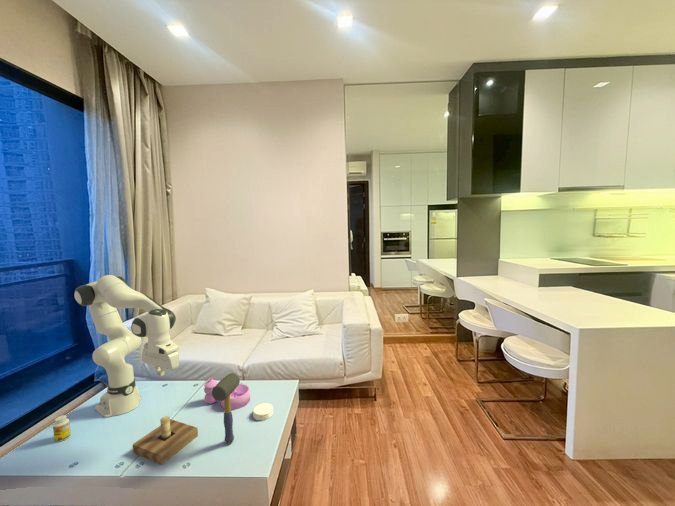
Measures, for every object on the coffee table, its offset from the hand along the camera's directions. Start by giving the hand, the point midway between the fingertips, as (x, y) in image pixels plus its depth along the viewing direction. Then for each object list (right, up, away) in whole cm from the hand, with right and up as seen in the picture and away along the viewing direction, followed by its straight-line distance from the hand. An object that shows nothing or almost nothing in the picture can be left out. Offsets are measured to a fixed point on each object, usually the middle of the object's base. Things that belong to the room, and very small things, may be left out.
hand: (160, 374), depth 134 cm
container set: (+19, -28, +30) cm, 45 cm away
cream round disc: (+42, -28, +18) cm, 54 cm away
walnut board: (+4, -30, -2) cm, 31 cm away
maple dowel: (+4, -30, -2) cm, 31 cm away
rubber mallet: (+32, -30, -2) cm, 44 cm away
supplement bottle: (-48, -32, +4) cm, 58 cm away
